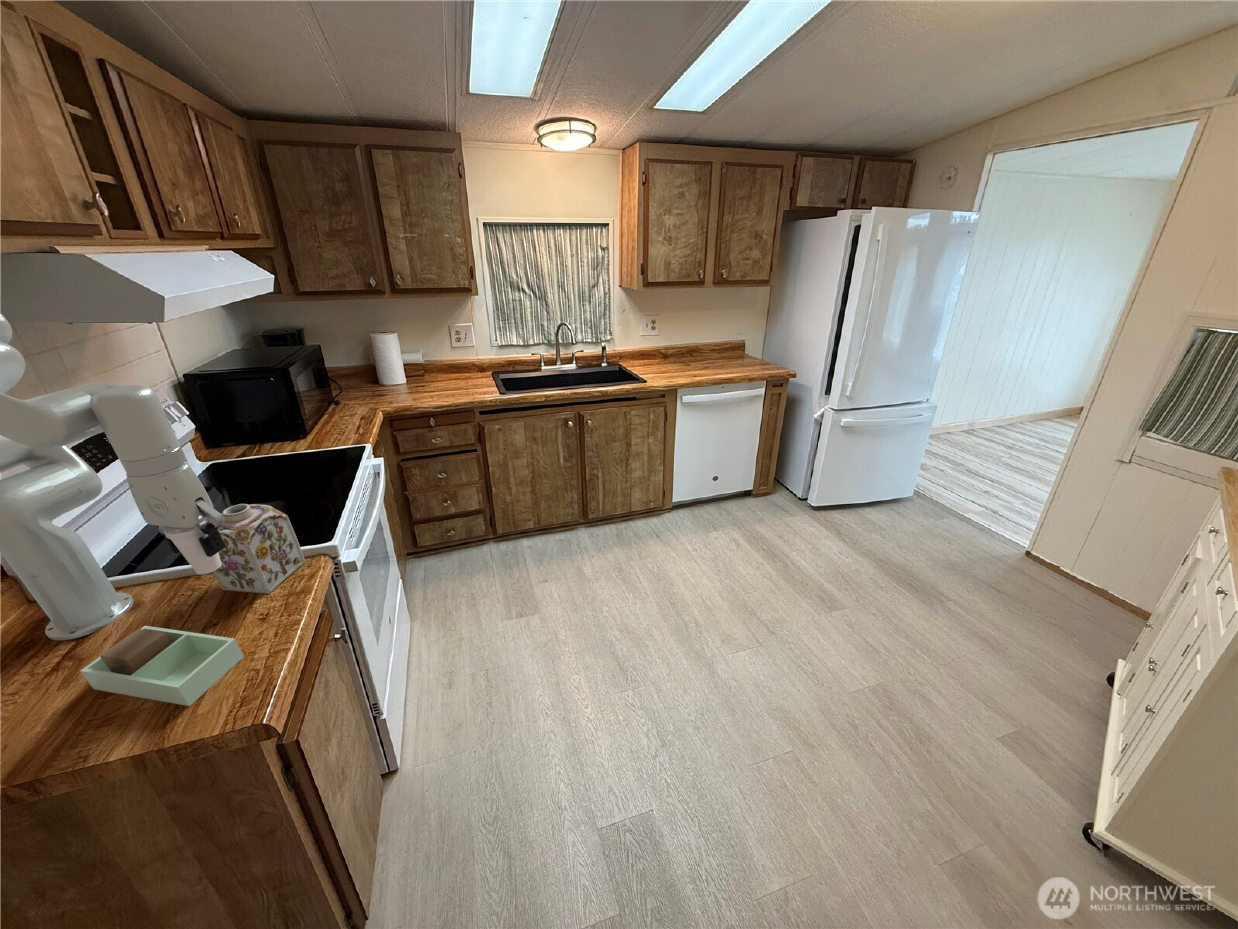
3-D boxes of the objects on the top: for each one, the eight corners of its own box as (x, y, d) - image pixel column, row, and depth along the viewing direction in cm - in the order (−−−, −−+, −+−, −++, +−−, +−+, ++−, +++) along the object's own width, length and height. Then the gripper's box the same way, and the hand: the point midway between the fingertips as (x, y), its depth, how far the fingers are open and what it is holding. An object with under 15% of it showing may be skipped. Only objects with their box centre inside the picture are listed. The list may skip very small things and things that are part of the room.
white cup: (238, 556, 91) (208, 493, 85) (214, 578, 85) (181, 512, 79) (204, 558, 91) (171, 494, 85) (177, 580, 85) (141, 513, 79)
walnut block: (117, 680, 83) (99, 655, 80) (153, 653, 88) (137, 629, 85) (145, 685, 82) (128, 660, 79) (179, 657, 87) (165, 633, 84)
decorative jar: (220, 592, 104) (185, 522, 96) (263, 559, 114) (234, 493, 106) (270, 595, 102) (238, 525, 94) (308, 562, 112) (282, 496, 105)
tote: (95, 691, 81) (80, 670, 79) (157, 645, 90) (144, 625, 88) (191, 708, 78) (177, 687, 76) (245, 658, 87) (234, 638, 85)
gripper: (86, 468, 76) (139, 559, 84) (177, 475, 74) (222, 567, 82) (136, 449, 83) (180, 535, 91) (220, 454, 80) (258, 542, 88)
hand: (199, 549), depth 86 cm, fingers closed on white cup, 6 cm apart
